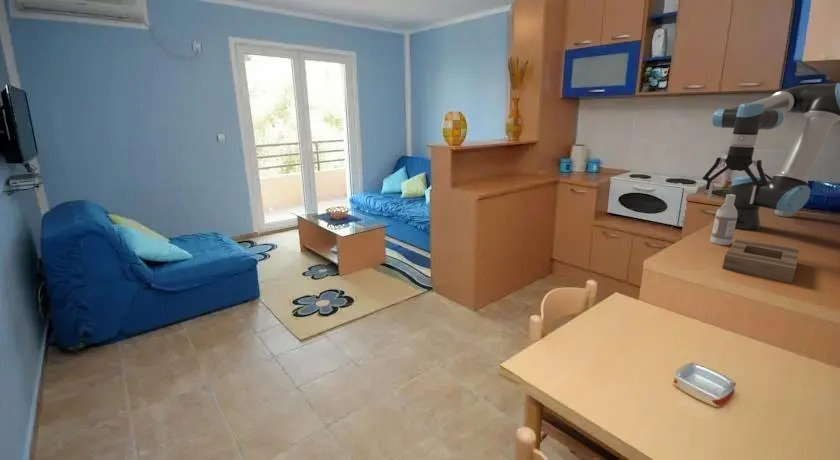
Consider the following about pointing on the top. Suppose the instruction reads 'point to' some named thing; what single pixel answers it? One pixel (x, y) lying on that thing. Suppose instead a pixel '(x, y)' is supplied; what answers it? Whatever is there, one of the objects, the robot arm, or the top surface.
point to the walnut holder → (762, 260)
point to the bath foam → (725, 222)
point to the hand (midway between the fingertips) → (729, 200)
